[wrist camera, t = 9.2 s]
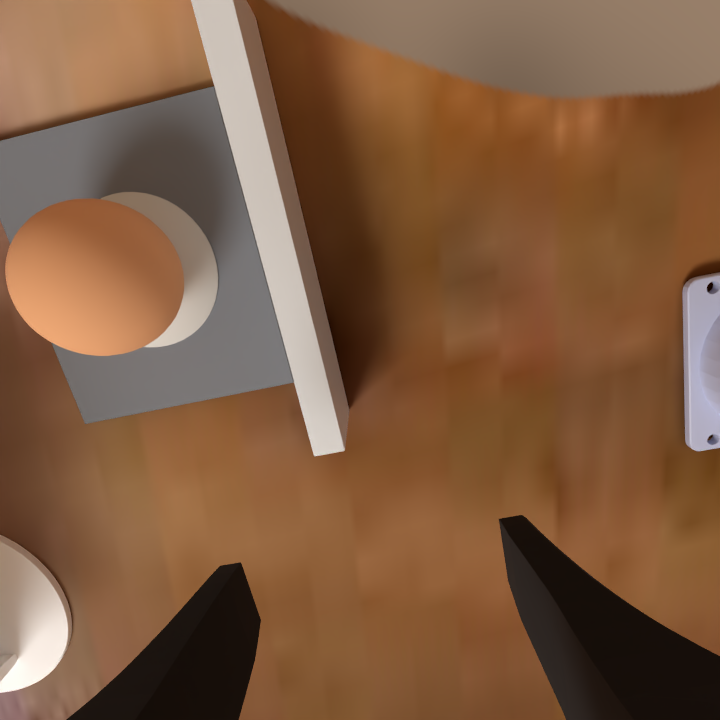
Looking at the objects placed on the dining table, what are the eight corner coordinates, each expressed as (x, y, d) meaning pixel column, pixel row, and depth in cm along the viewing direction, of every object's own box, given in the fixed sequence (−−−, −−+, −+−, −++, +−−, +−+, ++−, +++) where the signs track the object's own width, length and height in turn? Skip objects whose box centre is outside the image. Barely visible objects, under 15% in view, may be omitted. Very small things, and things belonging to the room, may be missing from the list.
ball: (182, 188, 18) (99, 173, 13) (222, 322, 19) (163, 358, 14) (55, 219, 19) (-74, 216, 13) (104, 347, 20) (5, 390, 15)
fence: (255, 16, 17) (221, -45, 13) (349, 410, 21) (344, 450, 17) (224, 25, 17) (181, -34, 13) (324, 414, 21) (314, 456, 17)
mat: (217, 89, 18) (212, 85, 17) (295, 379, 21) (292, 383, 20) (-20, 150, 18) (-32, 148, 18) (91, 419, 22) (84, 424, 21)
